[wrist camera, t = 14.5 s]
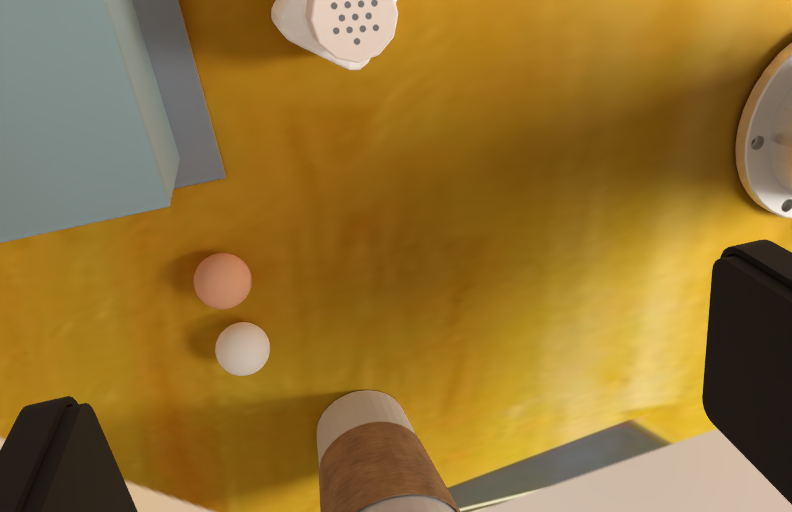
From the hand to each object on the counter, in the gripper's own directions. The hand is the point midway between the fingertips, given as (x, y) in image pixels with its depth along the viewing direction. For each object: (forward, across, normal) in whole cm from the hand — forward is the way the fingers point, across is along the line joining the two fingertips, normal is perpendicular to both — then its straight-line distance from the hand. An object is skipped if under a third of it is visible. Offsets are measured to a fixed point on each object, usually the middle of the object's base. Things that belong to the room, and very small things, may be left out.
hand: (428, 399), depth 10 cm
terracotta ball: (+26, +6, +9) cm, 28 cm away
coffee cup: (+27, +1, +22) cm, 35 cm away
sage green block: (+25, +10, -3) cm, 27 cm away
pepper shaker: (+27, -2, -4) cm, 27 cm away
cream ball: (+26, +6, +13) cm, 30 cm away
